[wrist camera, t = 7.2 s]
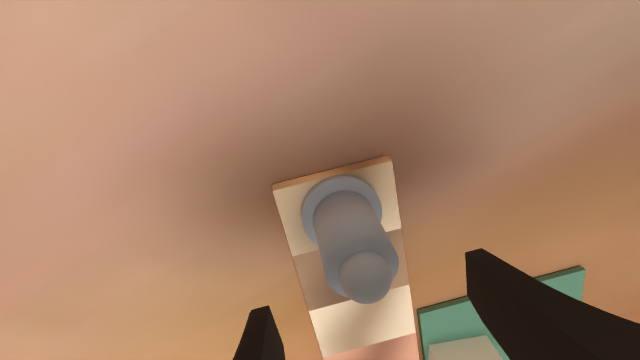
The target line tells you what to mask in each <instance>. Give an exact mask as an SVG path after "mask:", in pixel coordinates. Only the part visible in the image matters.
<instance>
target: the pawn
mask: <svg viewBox="0 0 640 360" xmlns="http://www.w3.org/2000/svg"><path fill="white" fill-rule="evenodd" d="M301 218H302V223H303V228H304V231H305V233H306V235H307V237H308V238H309V239H310V240H311V241H312V242H313V243H314V244H315V245H317V246H318V247H319V252H320V256H321V260H322V264H323V269H324V273H325V277H326V280H327V283H328V285H329V286H330V287H331V289H332V290H334V291H335V292H336V293H338V294H340V295H342V296H345V297H349V298H350V299H352V300H353V301H355V302H357V303H361V304H373V303H376V302H378V301H380V300H381V299H382V298H384V297H385V296H386V294H387V293H388V291H389V289H390V287H391V283H392V281H393V279H394V278H395V276H396V274H397V271H398V268H399V258H398V254H397V252H396V250H395V248H394V246H393V245H392V243H391V241H390V239H389V237H388V235H387V234H386V232H385V230H384V228H383V226H382V224H381V220H382V205H381V202H380V199H379V198H378V196H377V194H376V193H375V191H374V189H373V188H372V187H371V186H370V185H369V184H368V183H367V182H366V181H364V180H363V179H361V178H359V177H355V176H351V175H336V176H331V177H328V178H326V179H324V180H322V181H320V182H318V183H317V184H316V185H314V186H313V187H312V188H311V189H310V191H309V192H308V193H307V195H306V196H305V198H304V201H303V203H302V207H301Z"/></svg>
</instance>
